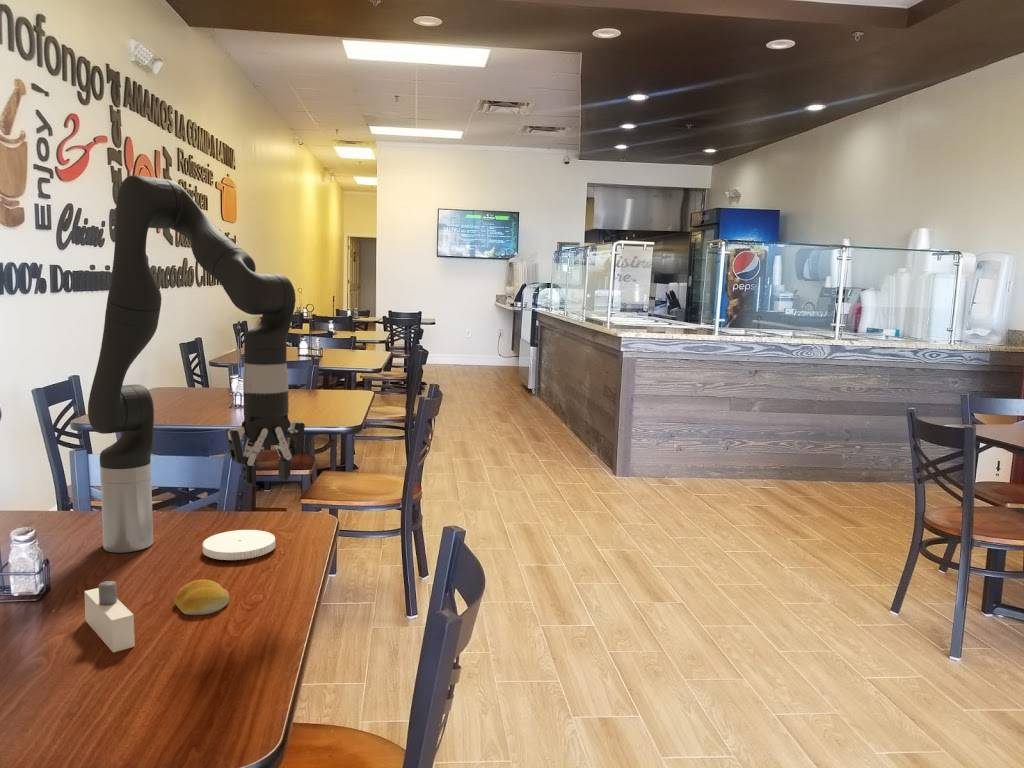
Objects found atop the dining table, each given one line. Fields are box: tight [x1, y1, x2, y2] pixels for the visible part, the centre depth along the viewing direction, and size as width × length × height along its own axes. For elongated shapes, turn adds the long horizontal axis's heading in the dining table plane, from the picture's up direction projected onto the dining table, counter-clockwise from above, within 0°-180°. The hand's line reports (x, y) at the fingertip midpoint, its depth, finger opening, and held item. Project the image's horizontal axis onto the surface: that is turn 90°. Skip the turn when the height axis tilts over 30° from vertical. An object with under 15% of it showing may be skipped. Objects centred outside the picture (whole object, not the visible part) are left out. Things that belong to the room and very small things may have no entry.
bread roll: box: [174, 578, 230, 616], centre depth 129 cm, size 8×9×4 cm
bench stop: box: [83, 580, 136, 653], centre depth 118 cm, size 14×3×8 cm, turn 44°
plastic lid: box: [202, 529, 276, 561], centre depth 155 cm, size 14×14×2 cm
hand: (267, 482), depth 135 cm, fingers open, 5 cm apart
